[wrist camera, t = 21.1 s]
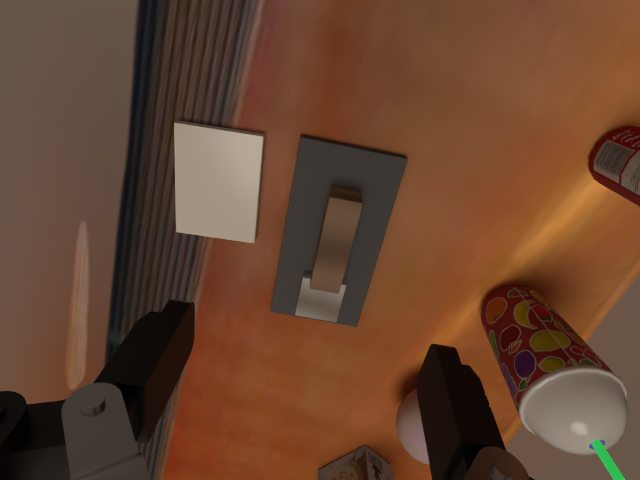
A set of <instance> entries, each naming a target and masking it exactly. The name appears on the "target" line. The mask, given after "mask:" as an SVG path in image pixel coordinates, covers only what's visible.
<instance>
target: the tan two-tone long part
mask: <svg viewBox="0 0 640 480" xmlns="http://www.w3.org/2000/svg"><path fill="white" fill-rule="evenodd" d="M362 205H363V201H362V195H361V192H360V191H355V190H350V189H345V188H340V187H335V186H330V189H329V194H328V198H327V203H326V207H325V212H324V216H323V221H322V225H321V230H320V234H319V239H318V244H317V248H316V253H315V257H314V262H313V266H312V271H311V273H310V272H303V277H302V282H301V287H300V292H299V296H298V301H297V306H296V312H295V315H297V316H302V317H308V318H314V319H319V320H325V321H331V322H336V321H337V317H338V314H339V310H340V306H341V303H342V299H343V295H344V292H345V288H346V279H343V277H344V273H345V269H346V265H347V261H348V258H349V254H350V250H351V246H352V243H353V239H354V235H355V231H356V227H357V224H358V220H359V216H360V212H361V209H362Z"/></svg>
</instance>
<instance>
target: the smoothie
mask: <svg viewBox="0 0 640 480" xmlns="http://www.w3.org/2000/svg"><path fill="white" fill-rule="evenodd" d="M481 320H482V324H483V327H484V329H485V332H486V334H487V337H488V339H489V342H490V344H491V346H492V349H493V351H494V354H495V356H496V359H497V361H498V364H499V366H500V369H501V371H502V374H503V376H504V379H505V381H506V384H507V386H508V389H509V391H510V393H511V396H512V398H513V401H514V403H515V406H516V408H517V411H518V413H519V417H520V420H521V422H522V423H523V425H524V426H525V427H526V429H527V430H529V431H531V432H532V433H534V434H535V435H537V436H539V437H540V438H541V439H542V440H543V441H545V442H547V443H548V444H550V445H551V446H553V447H555V448H557V449H558V450H561V451H564V452H567V453H570V454H574V455H594V454H598V456H599V457H600V459H601V460H602V462H603V464H604V465H605V467H606V468H607V470H608V472H609V473H610V475H611V476H612V478H613V480H625V479H624V477H623V476H622V474H621V472H620V471H619V469H618V468H617V466H616V465H615V463H614V462H613V460H612V458H611V457H610V455H609V454H608V452H607V450H609V449H610V448H612V447H613V446H614V445H615V444H617V442H619V440H620V439H621V438H622V436H623V434H624V433H625V430H626V428H627V421H628V406H627V390H626V388H625V386H624V383H623V382H622V380H621V379H620V378H619V377H617V376H616V375H615V374H614V373H613V372H612V371H611V370H610V369H609V367H608V366H607V365H606V364H605V363H604V362H603V361H602V360H601V359H600V358H599V357H598V356H597V355H596V353H595V352H594V351H593V350H592V349H591V348H590V347H589V346H588V345H587V344H586V343H585V342H584V341H583V340H582V338H581V337H580V336H579V335H578V334H577V333H576V332H575V331H574V330H573V329H572V328H571V327H570V326H569V325H568V324H567V322H566V321H565V320H564V319H563V318H562V317H561V316H560V315H559V314H558V313H557V312H556V311H555V310H554V309H553V307H552V306H551V305H550V304H549V303H548V302H547V301H546V300H545V299H544V298H543V297H542V296H541V295H540V294H539V293H538V292H536V291H535V290H533V289H529V288H526V287H523V286H520V285H508V286H504V287H501V288H499V289H497V290H495V291H493V292H492V293H491V294H490V295H489V296H488V297H487V298H486V300H485V302H484V304H483V309H482V314H481Z"/></svg>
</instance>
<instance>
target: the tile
mask: <svg viewBox="0 0 640 480" xmlns="http://www.w3.org/2000/svg"><path fill="white" fill-rule="evenodd" d="M174 136H175V195H176V232H181V233H187V234H194V235H201V236H208V237H214V238H221V239H228V240H235V241H242V242H248V243H255V240H256V235H257V223H258V212H259V200H260V188H261V176H262V165H263V153H264V141H265V134H262V133H256V132H249V131H243V130H237V129H230V128H224V127H217V126H211V125H204V124H198V123H192V122H185V121H179V120H178V121H176V122H175V123H174Z"/></svg>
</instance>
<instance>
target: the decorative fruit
mask: <svg viewBox="0 0 640 480" xmlns="http://www.w3.org/2000/svg"><path fill="white" fill-rule="evenodd" d="M396 427H397V432H398V435H399V438H400V441H401V443H402V445H403V447H404V448H405V450H406V451H407V452H408V453H409V454H410V455H411V456H412V457H413V458H415V459H416V460H418V461H420V462H422V463H425V464H429V458H428V453H427V447H426V442H425V437H424V431H423V426H422V420H421V415H420V409H419V404H418V398H417V389H416V388H415V389H414V390H412V391H411V392H410V393H409V394H408V395H407V396H406V397H405V399H404V400H403V401H402V403H401V405H400V407H399V409H398V412H397V417H396ZM429 465H430V464H429Z"/></svg>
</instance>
